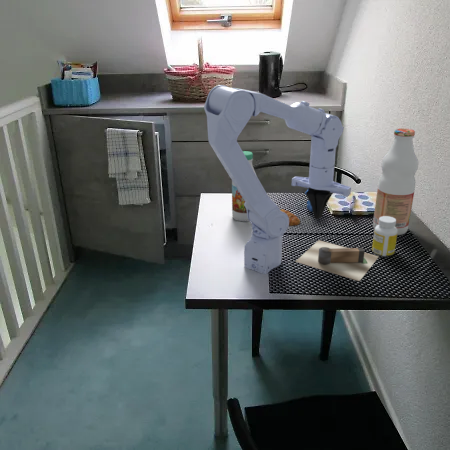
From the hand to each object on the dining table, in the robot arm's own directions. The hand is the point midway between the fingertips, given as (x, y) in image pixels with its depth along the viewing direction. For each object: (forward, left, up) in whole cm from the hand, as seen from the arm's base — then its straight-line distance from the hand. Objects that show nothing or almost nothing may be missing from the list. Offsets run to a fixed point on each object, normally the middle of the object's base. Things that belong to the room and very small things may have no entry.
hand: (318, 217), depth 110 cm
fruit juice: (+23, -12, -10) cm, 28 cm away
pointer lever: (-4, -8, -8) cm, 12 cm away
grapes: (+23, +11, -10) cm, 27 cm away
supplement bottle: (+7, -15, -10) cm, 19 cm away
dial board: (-3, -7, -9) cm, 12 cm away
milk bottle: (+8, +27, -10) cm, 30 cm away
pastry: (+11, +15, -10) cm, 21 cm away
